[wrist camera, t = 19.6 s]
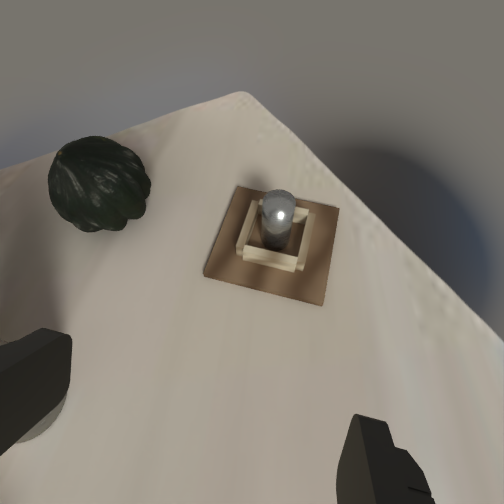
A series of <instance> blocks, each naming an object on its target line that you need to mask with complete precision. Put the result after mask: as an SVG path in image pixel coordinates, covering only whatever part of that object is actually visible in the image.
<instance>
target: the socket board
mask: <svg viewBox="0 0 504 504" xmlns="http://www.w3.org/2000/svg"><path fill="white" fill-rule="evenodd" d="M266 194H267V193H266V192H262V191H257V190H252V189H248V188H243V187H237V189H236V192H235V194H234V197H233V199H232V202H231V204H230V207H229V210H228V212H227V215H226V217H225V220H224V222H223V225H222V227H221V230H220V232H219V235H218V237H217V240H216V242H215V245H214V247H213V250H212V252H211V255H210V258H209V260H208V263H207V265H206V268H205V270H204V273H203V274H204V277H208V278H212V279H216V280H220V281H224V282H228V283H232V284H236V285H240V286H244V287H247V288H251V289H255V290H259V291H263V292H267V293H271V294H275V295H279V296H283V297H287V298H291V299H295V300H299V301H303V302H306V303H310V304H314V305H318V306H322V305H323V303H324V297H325V291H326V285H327V279H328V274H329V268H330V262H331V256H332V250H333V244H334V238H335V232H336V226H337V220H338V215H339V209H340V208H336V207H331V206H326V205H322V204H317V203H312V202H308V201H303V200H299V199H295V201H296V206H295V211H294V217H293V223H292V229H291V234H290V240H289V244H288V245H287V246H286V247H285V248H284V249H282V250H278V251H273V250H269V249H267V248H266V247H265V246H264V245H263V244H262V241H261V229H262V204H263V198H264V196H265V195H266Z"/></svg>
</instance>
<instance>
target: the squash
mask: <svg viewBox="0 0 504 504" xmlns="http://www.w3.org/2000/svg"><path fill="white" fill-rule="evenodd" d="M48 185H49V195H50V199H51V202H52V205H53V206H54V208H55V209H56V211H57V212H58V213H59V215H60V216H61V217H62V218H64V219H65V220H67V221H69V222H71V223H73V224H74V226H75V227H77V228H78V229H80V230H82V231H84V232H96V231H99V230H102V229H105V230H111V231H119V230H122V229H124V227H125V226H126V224H127V219H139V218H141V217H142V216H143V215H144V213H145V209H146V203H145V199H146V198H147V197H148V196H149V194H150V187H151V181H150V179H149V178H148V176H147V174H146V173H145V168H144V166H143V164H142V162H141V160H140V158H139V157H138V156H137V155H136V154H135V153H134V152H133V151H132V150H130V149H129V148H126V147H124V146H121V145H120V144H119V143H117V142H115V141H113V140H111V139H108V138H105V137H101V136H89V137H85V138H81V139H79V140H76V141H72V142H70V143H68V144H66V145H65V146H63V147H62V148H61V149H60V150H59V151H58V152H57V154H56V157H55V158H54V160H53V163H52V165H51V168H50V171H49V174H48Z"/></svg>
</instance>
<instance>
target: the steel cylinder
mask: <svg viewBox="0 0 504 504" xmlns="http://www.w3.org/2000/svg"><path fill="white" fill-rule="evenodd" d="M295 206H296V201H295V198H294V196H293V195H292V194H291V193H289V192H287V191H285V190H272V191H270V192H268V193H267V194H266V195H265V196H264V198H263V204H262V229H261V241H262V244H263V245H264V246H265V247H266V248H267V249H269V250H273V251H278V250H282V249H284V248H285V247H286V246H287V245H288V244H289V240H290V234H291V229H292V223H293V217H294V211H295Z"/></svg>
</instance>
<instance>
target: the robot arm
mask: <svg viewBox="0 0 504 504" xmlns="http://www.w3.org/2000/svg"><path fill="white" fill-rule="evenodd" d="M71 356H72V338H71V336H70V335H68V334H64V333H61V332H57V331H53V330H50V329H46V328H41V329H38V330H36V331H34V332H33V333H31V334H29V335H27V336H25V337H23V338H22V339H20V340H17V341H14V342H10V343H7V342H5V341H3V340H1V339H0V456H1V455H2V454H3V453H4V452H6V451H7V450H8V449H9V448H10V447H11V446H12V445H13V444H15V443H21V442H25V441H28V440H31V439H33V438H35V437H36V436H38V435H40V434H41V433H42V432H44V431H45V430H46V429H47V428H48V427H49V426H50V425H51V424H52V423H53V422H54V421H55V420H56V418H57V416H58V415H59V413H60V412H61V410H62V407H63V405H64V402H65V398H66V393H67V390H68V388H69V384H70V373H71ZM336 494H337V504H435V501H434V499H433V498H432V497H431V494H432V493H431V491H430V488H429V486H428V483H427V481H426V478H425V475H424V473H423V471H422V469H421V468H420V467H419V466H418V464H417V463H416V462H415V460H414V459H413V458H412V457H411V455H410V454H409V453H408V451H407V450H404V449H400V448H397V447H395V446H394V443H393V440H392V436H391V433H390V430H389V427H388V424H387V423H386V422H385V421H381V420H377V419H374V418H370V417H366V416H363V415H359V414H354V416H353V418H352V420H351V423H350V427H349V430H348V433H347V437H346V440H345V443H344V447H343V450H342V453H341V457H340V460H339V464H338V470H337V478H336Z"/></svg>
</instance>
